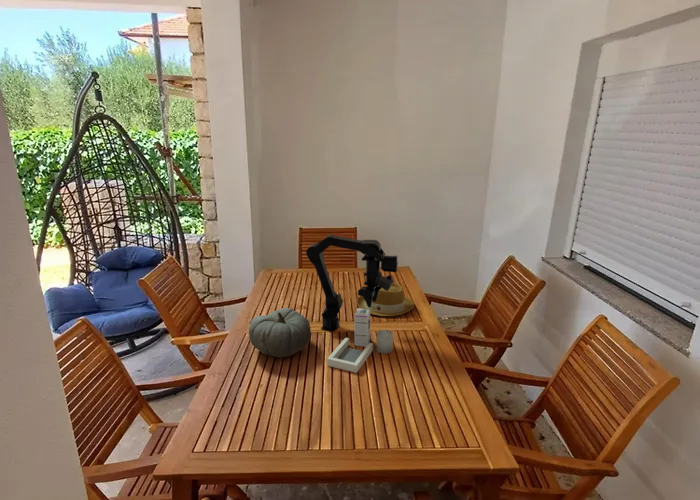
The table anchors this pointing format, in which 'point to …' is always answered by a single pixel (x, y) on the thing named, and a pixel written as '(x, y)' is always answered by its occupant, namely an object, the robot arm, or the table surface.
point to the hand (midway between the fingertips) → (371, 304)
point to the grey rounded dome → (384, 341)
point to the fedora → (388, 302)
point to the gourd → (280, 332)
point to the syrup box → (362, 327)
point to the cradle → (348, 357)
